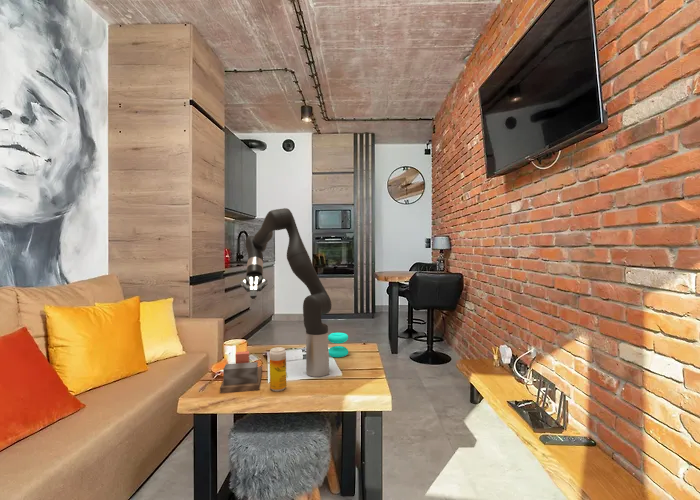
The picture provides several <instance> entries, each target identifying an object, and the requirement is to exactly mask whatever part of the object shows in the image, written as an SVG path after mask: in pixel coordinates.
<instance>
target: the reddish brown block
mask: <svg viewBox="0 0 700 500" xmlns="http://www.w3.org/2000/svg"><path fill="white" fill-rule="evenodd" d="M236 363H251V362H250V351H249V350H248V351H236V353H235V364H236Z"/></svg>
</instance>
